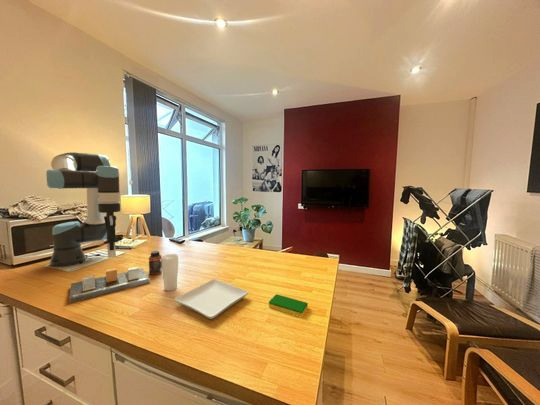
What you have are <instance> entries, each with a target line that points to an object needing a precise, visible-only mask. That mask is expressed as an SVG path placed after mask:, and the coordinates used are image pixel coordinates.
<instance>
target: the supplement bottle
mask: <svg viewBox="0 0 540 405" xmlns="http://www.w3.org/2000/svg"><path fill="white" fill-rule="evenodd" d="M148 269H149V271H148V272H149V274H150V275H154V276H155V275H159V274H161V273H163V272H162V255H161V254H160V251H159V250H154V251H151V252H150V256H149V257H148Z"/></svg>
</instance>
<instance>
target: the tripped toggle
mask: <svg viewBox="0 0 540 405" xmlns="http://www.w3.org/2000/svg"><path fill="white" fill-rule="evenodd" d="M117 274H118V269H117V267H116V268H115V267H114V268H111V269H110V268H109V269H106V270H105V276H106V283H107V282H111V281H116V280H117Z"/></svg>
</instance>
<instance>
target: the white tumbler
mask: <svg viewBox="0 0 540 405" xmlns="http://www.w3.org/2000/svg"><path fill="white" fill-rule="evenodd" d="M161 257H162V272H161V273H162V279H163V288H164V290H165V291H167V292H168V291H169V292H171V291H174V290H176V289H177V288H178V276H179V275H178V272H179V255H178V254H176V253H169V254H165V255H161Z"/></svg>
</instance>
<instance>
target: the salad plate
mask: <svg viewBox="0 0 540 405" xmlns="http://www.w3.org/2000/svg"><path fill="white" fill-rule="evenodd" d="M248 294H249V291H248V290H245V289H243V288H241V287H238V286H235V285H233V284H229V283H227V282H224V281H222V280H218V279H216V278H214V279H211V280H210V281H207V282H205V283H203V284H201V285H199V286H197V287H195V288H193V289H191V290H189V291H187V292H185V293H183V294H180V295H179V296H177V297H176V298H174V301H175V302H176V303H177V304H179V305H181V306H184V307H186V308H188V309H190V310H192V311H195V312H196V313H198V314H200V315H202V316H203V317H206V318H207V319H210V320H211V319H215V318H216V317H218V316H219V315H220V314H222V313H223V312H224V311H226V310H227V309H229V308H230V307H231V306H233V305H235V304H236V303H237V302H239V301H240V300H242V299H244V298H245V297H246V296H247V295H248Z"/></svg>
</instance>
